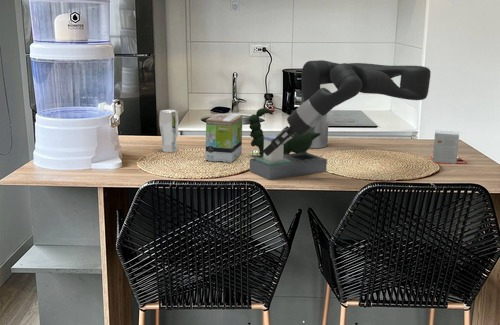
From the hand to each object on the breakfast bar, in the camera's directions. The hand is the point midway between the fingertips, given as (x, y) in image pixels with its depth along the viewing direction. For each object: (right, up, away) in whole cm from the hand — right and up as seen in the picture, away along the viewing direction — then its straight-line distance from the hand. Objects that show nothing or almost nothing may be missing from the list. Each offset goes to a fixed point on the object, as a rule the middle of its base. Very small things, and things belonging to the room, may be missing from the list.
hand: (269, 150), depth 174 cm
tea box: (-15, -2, +22) cm, 27 cm away
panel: (+6, -7, +4) cm, 10 cm away
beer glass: (-36, 0, +32) cm, 48 cm away
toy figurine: (+6, -2, +24) cm, 24 cm away
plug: (+1, -7, +1) cm, 8 cm away
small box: (+63, -4, +21) cm, 66 cm away
